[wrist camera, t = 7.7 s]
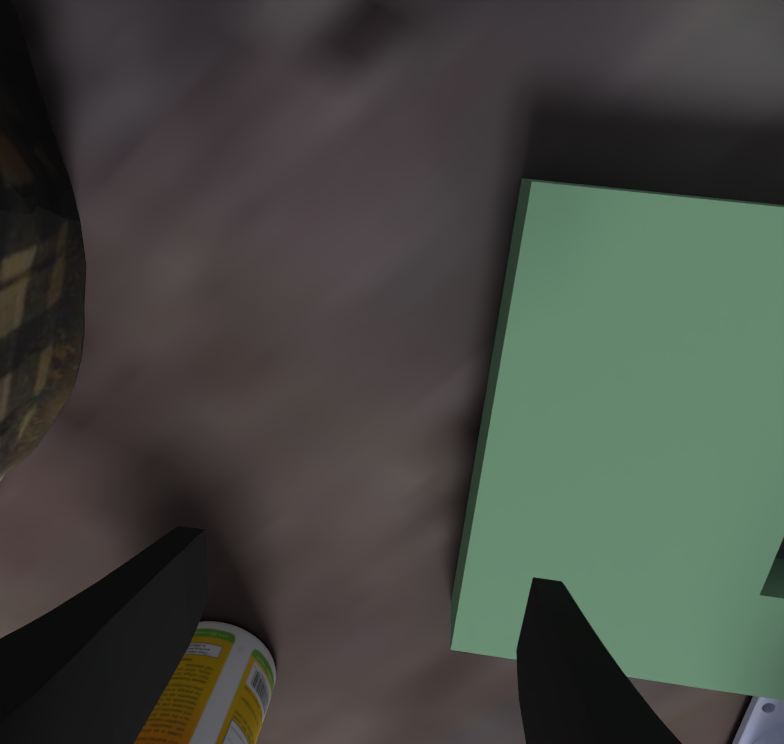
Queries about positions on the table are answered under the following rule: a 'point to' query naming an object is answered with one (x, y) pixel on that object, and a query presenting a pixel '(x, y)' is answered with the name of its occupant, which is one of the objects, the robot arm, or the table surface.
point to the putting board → (636, 435)
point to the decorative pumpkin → (34, 259)
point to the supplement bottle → (214, 690)
